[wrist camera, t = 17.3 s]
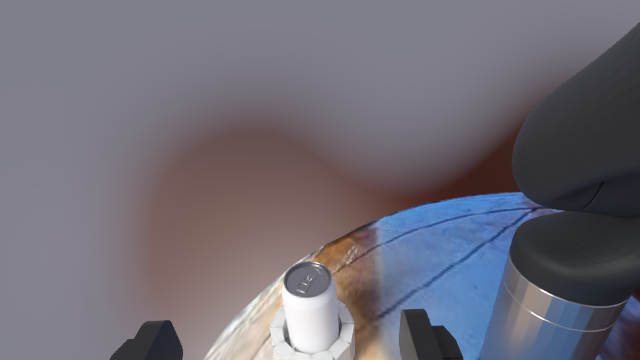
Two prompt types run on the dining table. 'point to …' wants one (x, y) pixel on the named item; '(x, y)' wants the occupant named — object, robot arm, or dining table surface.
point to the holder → (336, 356)
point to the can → (310, 307)
